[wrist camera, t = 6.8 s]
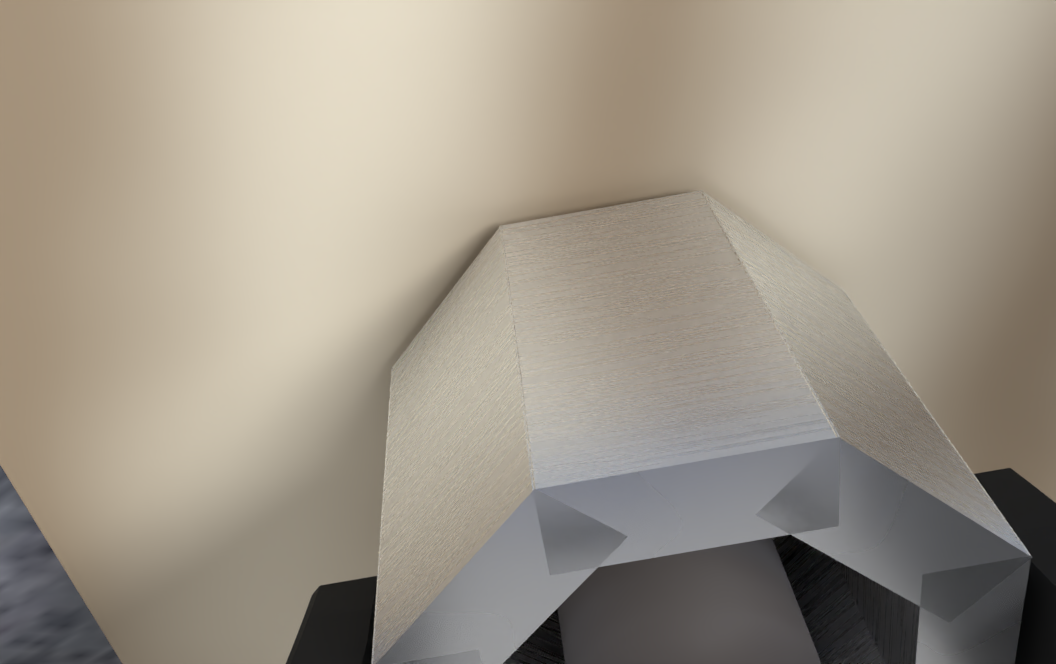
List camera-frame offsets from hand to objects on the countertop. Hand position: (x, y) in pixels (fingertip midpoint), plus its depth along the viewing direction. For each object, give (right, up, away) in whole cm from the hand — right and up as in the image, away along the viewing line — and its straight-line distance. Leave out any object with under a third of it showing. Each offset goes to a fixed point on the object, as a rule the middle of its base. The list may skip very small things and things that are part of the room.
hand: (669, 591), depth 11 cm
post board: (0, +2, +4) cm, 4 cm away
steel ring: (0, +2, +2) cm, 3 cm away
